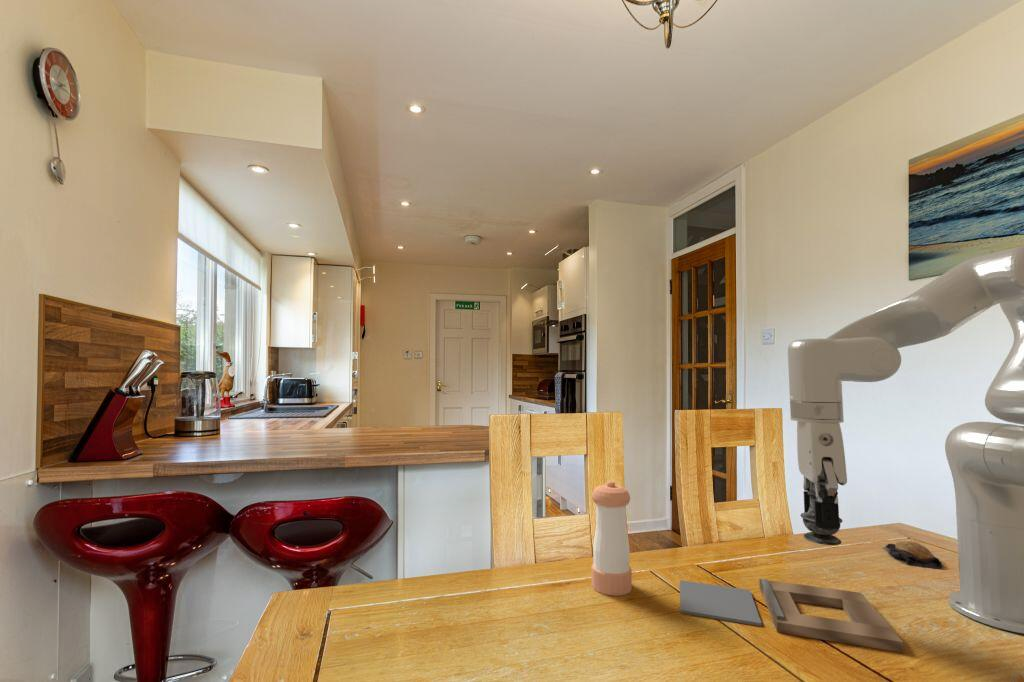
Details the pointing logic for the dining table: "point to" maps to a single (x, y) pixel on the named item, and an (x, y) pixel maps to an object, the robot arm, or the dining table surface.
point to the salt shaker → (816, 533)
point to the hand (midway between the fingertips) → (821, 520)
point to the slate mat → (718, 602)
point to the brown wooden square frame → (860, 631)
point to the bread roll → (913, 555)
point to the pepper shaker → (611, 541)
